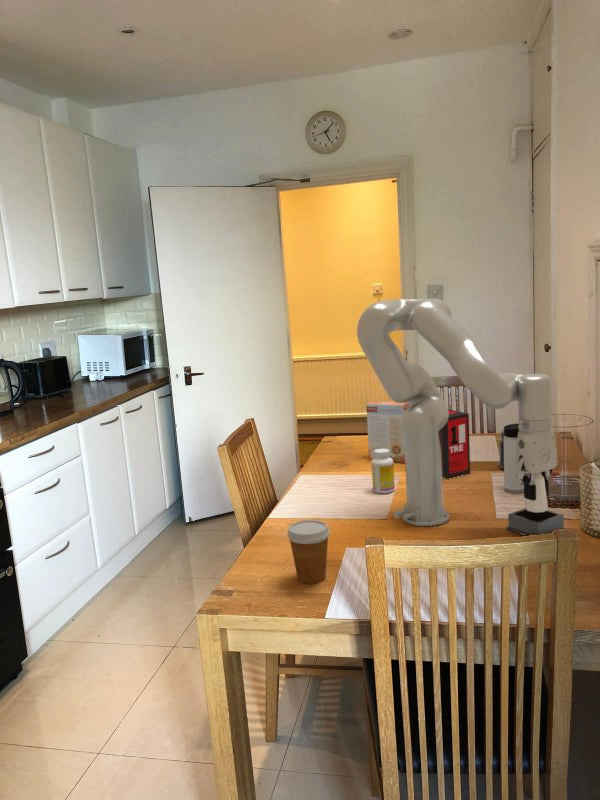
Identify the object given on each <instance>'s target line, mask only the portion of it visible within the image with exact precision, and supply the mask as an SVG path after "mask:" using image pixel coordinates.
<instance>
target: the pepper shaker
mask: <svg viewBox="0 0 600 800" xmlns="http://www.w3.org/2000/svg"><path fill="white" fill-rule="evenodd" d="M541 473H542V472H541ZM541 473H537V474H535V478H534V485H536V500H534V501H533V500H529V499H526V498H525V505H524V506H525V507H524V509H525V508H526V509H527V511H530V512H534V513H537V512H545V511H547V510H549V507H548V498H547V497H548V496H546V488H545V480H544V477H543V475H542V474H541ZM527 476H528V477H529V478H530V474H528V475H527Z"/></svg>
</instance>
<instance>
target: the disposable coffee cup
mask: <svg viewBox="0 0 600 800" xmlns="http://www.w3.org/2000/svg"><path fill="white" fill-rule="evenodd" d="M330 533H331V530H330V528H329V527H328V524H327V523H326V522H324V521H321V520H318V519H317V520H316V519H306V520H301V521H300V520H299V521H296V522H293V523H291V524H290V525H289V527H288V531H287V532H286V535H287V538H288V540H289V542H290V547H291V551H292V557H293V563H294V566H295V571H296V576H297V581H299V583H303V584H309V585H312V584H313V585H314V584H319V583H321V582H323V581H324V580H326V578H327V575H326V574H327V563H328V562H327V561H328V545H329V543H328V542H329V535H330Z"/></svg>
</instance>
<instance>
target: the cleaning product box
mask: <svg viewBox="0 0 600 800" xmlns="http://www.w3.org/2000/svg"><path fill="white" fill-rule="evenodd" d="M448 412H449V417H448V421H447V423H446V424H445V426H444V427H443V428H442V429H440V430H439V441H440V446H441V459H442V478H443V477H445V478H444V479H446V478H448V479H447V480H450V479H449V478H452V479H454V478H453V477H456V478H458V477H457V476H461V475H465V476H467V475H466V474H469V475H471V458H470V457H471V454H470V453H471V452H470V451H471V450H470V448H471V447H470V416H469V415H470V413H467V412H463V411H458V410H454V409H449V408H448ZM461 477H462V476H461Z"/></svg>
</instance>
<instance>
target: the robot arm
mask: <svg viewBox="0 0 600 800" xmlns="http://www.w3.org/2000/svg"><path fill="white" fill-rule="evenodd" d="M361 313H362V314H361V315H360V317H359V320H358V323H357V326H356V337H357V341H358V344H359V346H360V348H361V350H362V352H363V354H364V355H365V357H366V358H367V360H368V362H369V363H370V365H371V366H370V367H372V369H373V371H374V374H375V375H376V377H377V378H378V381H380V384H381V385H382V387H383V389H384V391H385V393H386V394H387V396H388V398H389V399H391V401H392V402H397V403H405V402H407V403H408V406H409V408H408V409H407V410H406V412H405V413H404V415H403V417H402V422H401V430H402V436H403V441H404V449H405V463H404V465H405V484H406V488H405V489H406V502H405V503H403V507H402V508H401V509H398V510H394V511H393V512H392V515H393V518H394V519H399V518H401V519H402V521H403V522H405V523H407V524H408V525H412V526H416V527H418V526H419V527H433V526H439V525H443V524H445V523H447V522H448V521H449V520H450V512H449V511H447V510H446V509H445V508H444V495H443V494H444V493H443V489H444V486H443V477H442V459H441V446H440V441H439V430H440V429H442V428H443V427H444V426H445V424H446V423H447V421H448V417H449V412H448V409H449V408H448V406H447V404H446V402H445V399H444V397H443V396H442V395H441V393H440V391H439V389H438V387H437V386H436V384H435V382H434V381H433V379H432V377H431V375H430V374H429V373H428V371H427V370H426V369H425V367H423V366H422V365H420V364H418V363H414V362H407V360H406V359H405V357H404V355H403V353H402V352H401V349H400V348H399V347H398V345H397V344H396V343H395V342H394V340H393V339H392V337H391V336H390V334H391V333H393V332H396V331H416V332H417V333H418V334H419V335H420V336H421V337H422V338H423V339H424V340H425V341H426V342H427V343H428V344H430V345H431V347H433V348H434V349H435V351H437V352H438V353H439V354H440V355H441V356H442V357H443V358H444V359H445V360H446V361H447V362H448V363H449V366H450V367H451V369H452V370H453V372H454V373H455V374H456V376H457V377H458V378H459V380H460V381H461V383H462V384H463V385H464V386H465V387H466V388H467V389H468V390H469V391H470V392H471V393H472V394H473V396H474V397H476V398H477V399H478V400H479V401H480V402H481V403H482V404H484V405H485V406H486V407H488V408H490V409H494V410H495V409H496V410H498V409H499V410H502V409H504V408H506V407H507V406H509V405H510V404H511V403H512V402H518V423H519V425H518V428H519V432H518V437H517V446H516V466H517V469H516V471H515V476H516V477H518V478H520V479H521V481H522V483H524V492H523V497H524V499H525V500H526V499H529V500H533V501H534V500H536V485H534V478H535V474H537V473H541V472H542V473H541V474H542V475H543V477H544V480H545V488H546V496H547V497H549V494H550V492H549V490H550V489H549V483H550V482H549V481H550V479H551V474H552V472H553V470H554V469H555V468H556V467H557V466H558V449H557V439H556V434H555V430H554V428H553V427H552V425H553V423H552V380H551V378H550V376H549V375H548V374H545V373H526V374H522V373H513V372H499V373H497V372H496V371H495V370H493V368H491V367H490V365H489V364H487V362H486V361H485V360H484V359H483V357H482V356H481V354H480V353H479V350H478V347H477V343H476V340H475V339H474V337H473V335H471V334H470V333H469V332H468V331H467V330H466V329H465V328H464V327H463V326H462V325H461V324H460V323H458V321H456V320H455V319H454V318H453V316H452V310H451V308H450V306H449V305H448V304H447V302H445V301H444V300H442V299H440V298H417V299H416V298H395V299H394V298H393V299H387V300H380V301H377V302H374V303H372V304H370V305H369V306H367V308H365V310H364V311H363V312H361ZM529 475H530V478H529V477H528V476H529Z"/></svg>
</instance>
